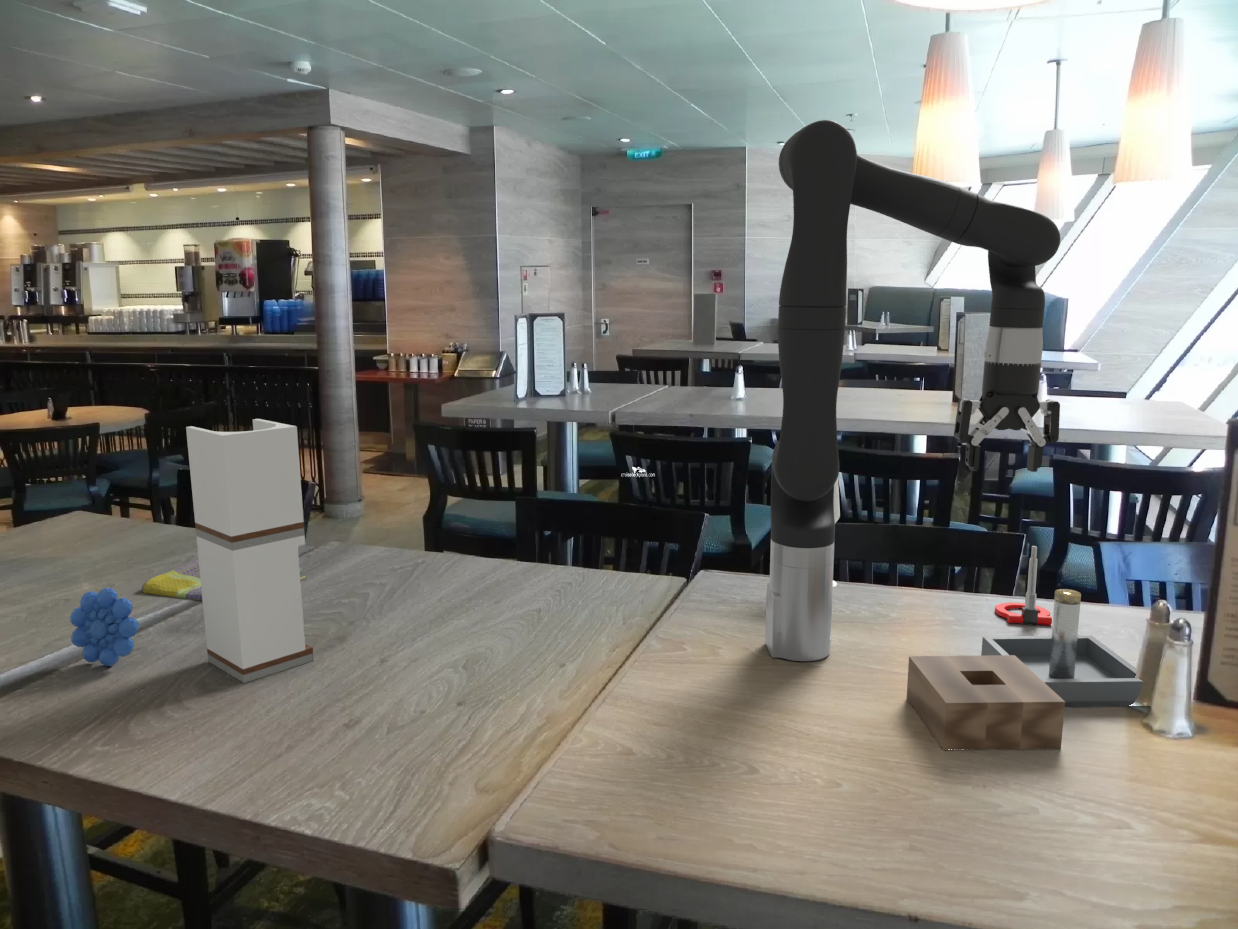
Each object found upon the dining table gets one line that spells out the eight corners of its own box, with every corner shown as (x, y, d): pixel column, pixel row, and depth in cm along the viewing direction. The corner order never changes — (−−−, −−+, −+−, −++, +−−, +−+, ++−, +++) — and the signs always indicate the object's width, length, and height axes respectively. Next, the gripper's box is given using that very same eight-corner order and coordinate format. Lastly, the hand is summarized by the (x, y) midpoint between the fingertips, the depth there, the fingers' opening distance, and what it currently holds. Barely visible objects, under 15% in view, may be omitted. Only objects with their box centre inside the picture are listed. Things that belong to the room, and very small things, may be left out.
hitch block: (943, 750, 112) (946, 703, 111) (906, 698, 126) (908, 656, 124) (1060, 749, 112) (1065, 701, 111) (1011, 697, 126) (1014, 655, 124)
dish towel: (244, 610, 163) (243, 594, 162) (135, 595, 171) (133, 580, 170) (309, 580, 179) (308, 565, 178) (206, 567, 187) (205, 554, 186)
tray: (1028, 707, 123) (1030, 682, 122) (981, 659, 138) (982, 636, 138) (1150, 706, 123) (1153, 681, 122) (1089, 658, 139) (1091, 635, 138)
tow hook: (989, 607, 161) (1002, 624, 152) (994, 534, 160) (1008, 546, 151) (1041, 610, 160) (1057, 627, 151) (1046, 535, 158) (1063, 548, 149)
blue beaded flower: (163, 658, 141) (155, 581, 138) (128, 676, 134) (120, 595, 132) (99, 650, 144) (90, 575, 141) (62, 668, 137) (52, 589, 135)
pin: (1055, 680, 129) (1061, 596, 127) (1044, 671, 132) (1050, 589, 130) (1078, 680, 129) (1085, 596, 127) (1067, 671, 132) (1073, 588, 130)
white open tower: (313, 660, 139) (296, 426, 133) (244, 683, 132) (222, 435, 125) (276, 641, 147) (258, 418, 140) (208, 661, 139) (185, 426, 133)
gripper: (971, 360, 131) (962, 475, 134) (1074, 362, 131) (1063, 476, 134) (953, 356, 139) (945, 464, 142) (1051, 357, 138) (1040, 466, 142)
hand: (1002, 470), depth 138 cm, fingers open, 8 cm apart
